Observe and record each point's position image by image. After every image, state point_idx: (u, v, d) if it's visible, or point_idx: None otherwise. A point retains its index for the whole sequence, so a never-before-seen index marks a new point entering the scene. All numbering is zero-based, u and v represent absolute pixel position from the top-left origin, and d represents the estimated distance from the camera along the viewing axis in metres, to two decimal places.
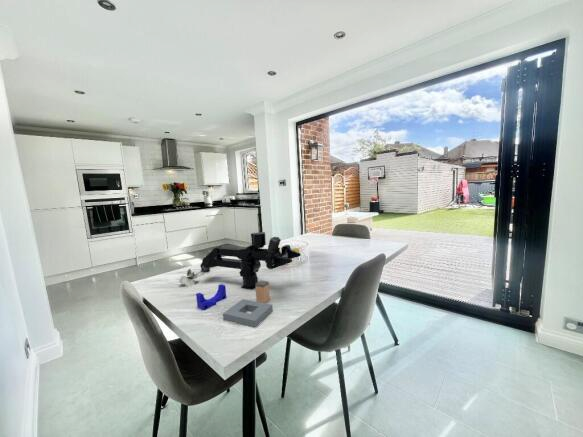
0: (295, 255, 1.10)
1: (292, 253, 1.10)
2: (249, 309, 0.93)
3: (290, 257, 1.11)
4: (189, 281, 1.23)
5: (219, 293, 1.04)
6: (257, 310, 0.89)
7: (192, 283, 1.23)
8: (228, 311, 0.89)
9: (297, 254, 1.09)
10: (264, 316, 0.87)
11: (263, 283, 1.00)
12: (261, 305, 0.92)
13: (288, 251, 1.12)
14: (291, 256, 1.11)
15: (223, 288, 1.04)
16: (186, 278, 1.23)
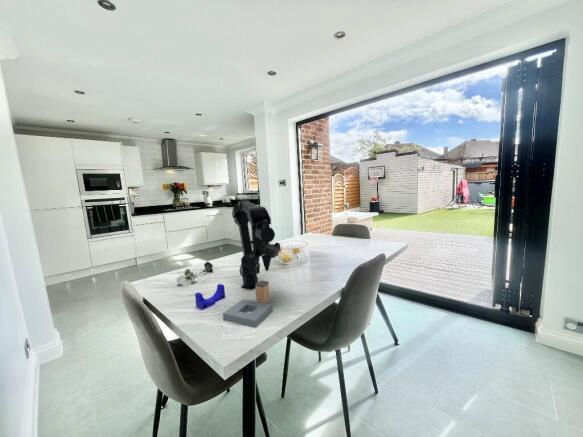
0: (265, 265, 1.04)
1: (267, 261, 1.04)
2: (249, 309, 0.93)
3: (263, 258, 1.05)
4: (186, 281, 1.23)
5: (218, 293, 1.04)
6: (257, 310, 0.89)
7: (189, 283, 1.23)
8: (228, 311, 0.89)
9: (266, 267, 1.04)
10: (264, 316, 0.87)
11: (263, 283, 1.00)
12: (261, 305, 0.92)
13: (268, 256, 1.04)
14: (264, 259, 1.04)
15: (222, 288, 1.05)
16: (184, 278, 1.24)
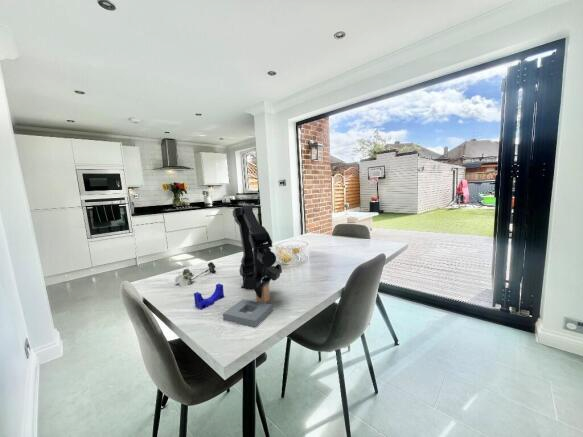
0: None
1: None
2: (249, 309, 0.93)
3: (261, 281, 1.04)
4: (184, 281, 1.23)
5: (217, 292, 1.05)
6: (257, 310, 0.89)
7: (186, 283, 1.23)
8: (228, 311, 0.89)
9: None
10: (264, 316, 0.87)
11: None
12: (261, 305, 0.92)
13: (267, 279, 1.02)
14: None
15: (221, 287, 1.05)
16: (183, 277, 1.25)
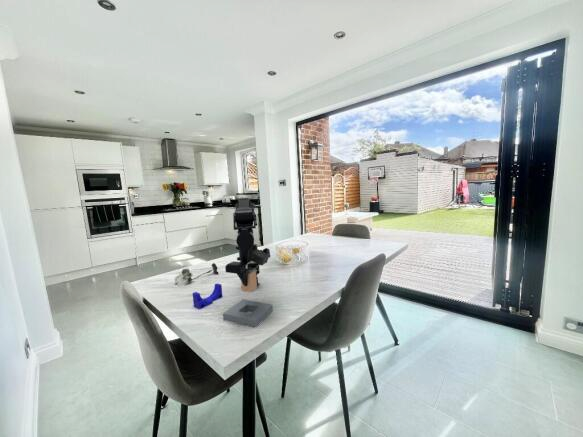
0: None
1: None
2: (249, 309, 0.93)
3: None
4: (182, 280, 1.24)
5: (215, 292, 1.05)
6: (257, 310, 0.89)
7: (184, 283, 1.23)
8: (228, 311, 0.89)
9: None
10: (264, 316, 0.87)
11: None
12: (261, 305, 0.92)
13: (254, 265, 0.91)
14: None
15: (219, 287, 1.05)
16: (182, 277, 1.26)
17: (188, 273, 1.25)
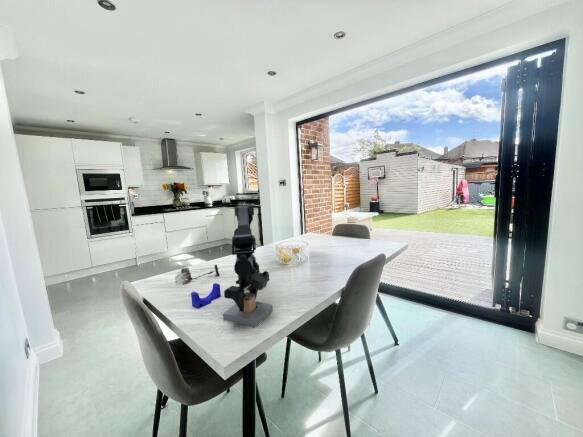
0: None
1: (253, 292, 0.93)
2: None
3: (249, 288, 0.94)
4: (181, 279, 1.25)
5: (214, 292, 1.05)
6: (257, 310, 0.89)
7: (182, 282, 1.24)
8: (228, 311, 0.89)
9: None
10: (264, 316, 0.87)
11: (248, 296, 0.89)
12: (261, 305, 0.92)
13: (255, 286, 0.93)
14: (250, 289, 0.94)
15: (218, 287, 1.06)
16: (182, 275, 1.27)
17: (186, 273, 1.25)
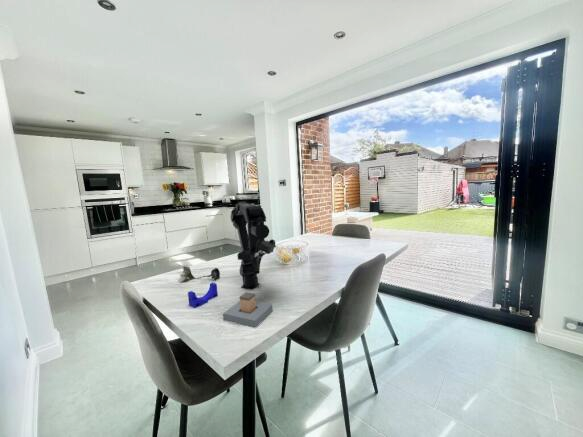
0: None
1: None
2: None
3: None
4: (182, 277, 1.29)
5: (210, 291, 1.06)
6: (257, 310, 0.89)
7: (181, 280, 1.28)
8: (228, 311, 0.89)
9: None
10: (264, 316, 0.87)
11: (248, 296, 0.89)
12: (261, 305, 0.92)
13: (259, 256, 1.04)
14: None
15: (214, 286, 1.07)
16: None
17: (186, 271, 1.28)
